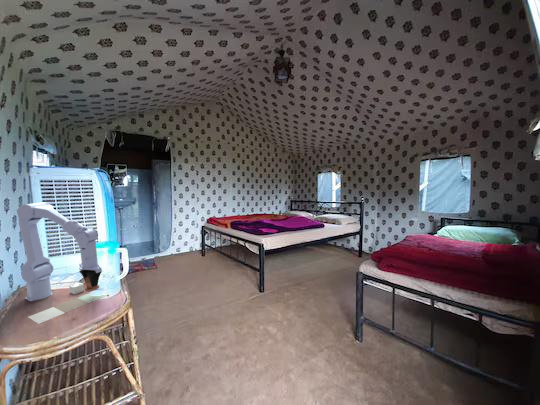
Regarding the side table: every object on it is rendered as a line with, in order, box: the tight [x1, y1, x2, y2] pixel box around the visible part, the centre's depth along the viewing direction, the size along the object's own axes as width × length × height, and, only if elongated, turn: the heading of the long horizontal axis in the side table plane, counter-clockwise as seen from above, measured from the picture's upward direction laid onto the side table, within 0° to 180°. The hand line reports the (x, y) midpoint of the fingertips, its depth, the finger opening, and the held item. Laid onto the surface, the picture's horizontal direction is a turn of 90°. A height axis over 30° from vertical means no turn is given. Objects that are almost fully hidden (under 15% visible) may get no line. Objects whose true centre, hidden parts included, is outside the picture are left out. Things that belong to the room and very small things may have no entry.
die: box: [69, 282, 85, 295], centre depth 118 cm, size 4×4×4 cm
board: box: [27, 292, 110, 325], centre depth 106 cm, size 10×25×1 cm, turn 152°
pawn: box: [84, 276, 100, 293], centre depth 113 cm, size 5×5×6 cm
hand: (92, 285), depth 113 cm, fingers closed on pawn, 4 cm apart
